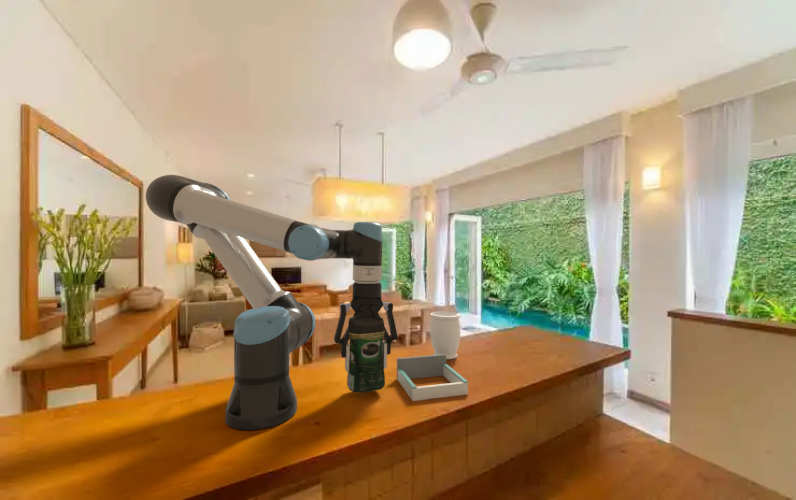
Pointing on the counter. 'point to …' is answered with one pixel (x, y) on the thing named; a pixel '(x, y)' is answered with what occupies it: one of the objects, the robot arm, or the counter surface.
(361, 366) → the coffee jar
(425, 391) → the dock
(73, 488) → the counter surface
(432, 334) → the jar
